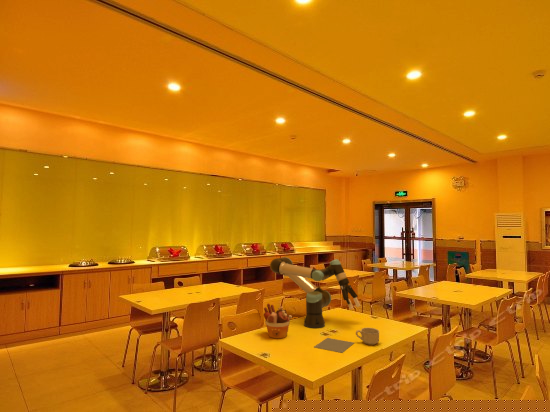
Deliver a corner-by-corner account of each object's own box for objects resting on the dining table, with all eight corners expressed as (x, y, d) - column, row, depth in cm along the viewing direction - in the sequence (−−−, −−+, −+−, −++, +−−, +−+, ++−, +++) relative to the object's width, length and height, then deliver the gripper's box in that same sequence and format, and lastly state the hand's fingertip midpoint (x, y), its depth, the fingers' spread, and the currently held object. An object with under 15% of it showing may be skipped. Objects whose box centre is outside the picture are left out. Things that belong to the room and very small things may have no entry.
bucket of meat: (296, 336, 220) (296, 305, 222) (277, 342, 209) (277, 309, 211) (276, 330, 235) (276, 301, 237) (257, 335, 224) (257, 304, 226)
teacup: (380, 341, 210) (379, 328, 210) (379, 347, 199) (378, 333, 200) (357, 339, 214) (356, 326, 215) (355, 344, 204) (354, 331, 204)
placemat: (313, 347, 200) (313, 346, 200) (327, 338, 217) (327, 337, 217) (342, 353, 190) (342, 352, 190) (354, 342, 207) (354, 342, 207)
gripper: (339, 278, 238) (353, 307, 229) (353, 277, 258) (366, 303, 250) (331, 282, 241) (343, 311, 233) (345, 281, 261) (357, 307, 253)
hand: (355, 307), depth 241 cm, fingers open, 13 cm apart
